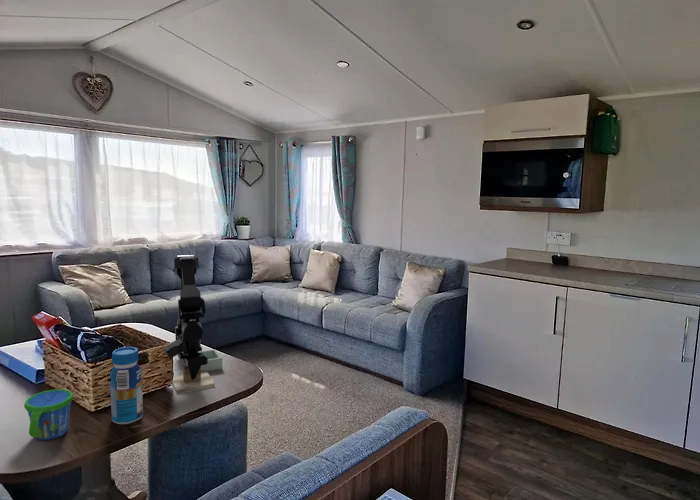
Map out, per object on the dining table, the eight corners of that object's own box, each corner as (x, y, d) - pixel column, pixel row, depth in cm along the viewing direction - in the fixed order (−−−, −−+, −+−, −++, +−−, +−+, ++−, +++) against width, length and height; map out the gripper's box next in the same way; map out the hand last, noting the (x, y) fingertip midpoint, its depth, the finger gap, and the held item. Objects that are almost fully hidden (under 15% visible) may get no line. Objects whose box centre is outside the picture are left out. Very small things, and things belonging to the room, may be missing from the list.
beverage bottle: (104, 420, 133) (101, 352, 130) (130, 408, 140) (128, 343, 137) (124, 428, 129) (121, 358, 126) (150, 415, 136) (148, 348, 133)
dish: (187, 365, 173) (187, 353, 173) (215, 360, 178) (214, 349, 178) (193, 375, 165) (193, 362, 164) (222, 370, 170) (222, 358, 169)
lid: (170, 379, 160) (169, 363, 159) (206, 372, 166) (205, 357, 165) (176, 393, 150) (176, 376, 149) (215, 386, 156) (214, 370, 155)
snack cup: (52, 451, 117) (50, 412, 116) (10, 449, 118) (7, 411, 116) (87, 419, 133) (86, 385, 131) (50, 418, 133) (48, 384, 132)
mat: (168, 380, 160) (168, 378, 160) (207, 373, 167) (207, 372, 167) (175, 395, 149) (175, 394, 149) (216, 387, 156) (216, 386, 156)
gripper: (160, 327, 159) (161, 371, 161) (170, 344, 143) (171, 393, 146) (194, 323, 165) (195, 365, 167) (207, 339, 149) (208, 386, 151)
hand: (192, 377), depth 158 cm, fingers closed on lid, 3 cm apart
